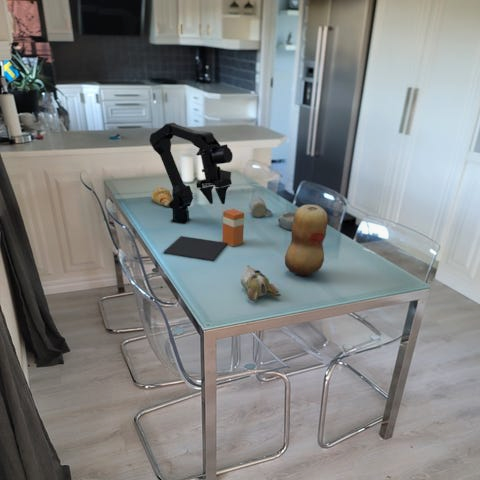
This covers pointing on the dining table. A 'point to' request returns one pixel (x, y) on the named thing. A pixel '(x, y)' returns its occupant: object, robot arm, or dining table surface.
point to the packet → (233, 227)
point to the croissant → (161, 196)
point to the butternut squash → (307, 240)
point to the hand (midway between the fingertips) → (217, 203)
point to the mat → (196, 248)
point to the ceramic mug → (259, 207)
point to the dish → (286, 220)
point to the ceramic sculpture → (257, 284)
